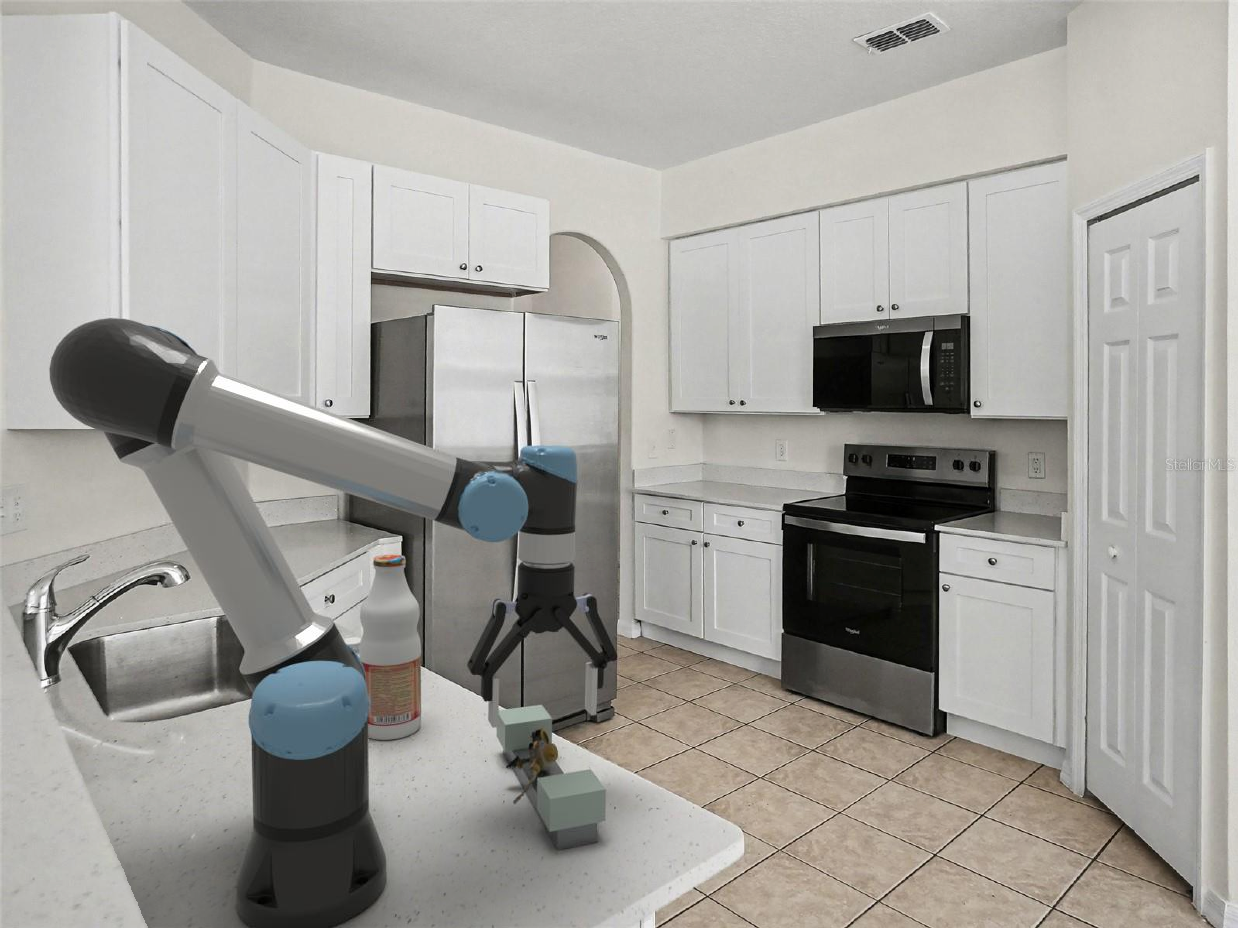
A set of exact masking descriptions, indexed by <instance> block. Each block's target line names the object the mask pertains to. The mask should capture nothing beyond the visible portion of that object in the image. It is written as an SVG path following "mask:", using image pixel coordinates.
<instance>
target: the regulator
mask: <svg viewBox="0 0 1238 928" xmlns="http://www.w3.org/2000/svg"><path fill="white" fill-rule="evenodd" d="M535 731H536V732H534V731H533V732H532V736H531V737H530V738H532V742H533V743H530V744H529V747H528V748H529V752H530V756H529V757H528V758H523V759H520V758H519V756H517V757H516V758H515V759H514V760H513V761H510V762H509V761H508V764H507V765H506V766H505V769H512V766H514V768H516V766H517V768H518V769H522V766H523V765H522V764H525V763H527V762H528V763H530V762H531V763H532V765H531V766H530V770H531V773H532V775H531V778H530V782H529V784H528V786H527V787H526V789H525V790H524V789H523V791H522V792H521V793H520V794H519V795H517V796H516V797H515V799H513V801H512V802H513V805H515V804H517V803H518V802H519V801H521V799H522V797H523V796H524V795H525V794H526V791H527V790H528V789H529V788H530V784H531V783H532V782H534V780H535V778H536V775H537V774H538V773H539V772H540V771H542V770H543V769H544V770H547V769H549V768H550V766H551V762H553V761H556V760H557V759H558V758H559V751H558V747H557V746H556V744H555V743H553V742H552V744H550V741H549V737H548V735H547V732H546V731H545V730H544V729H543V728H541V729H540V730H535Z"/></svg>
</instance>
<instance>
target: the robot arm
mask: <svg viewBox="0 0 1238 928" xmlns="http://www.w3.org/2000/svg"><path fill="white" fill-rule="evenodd" d="M49 381H50V385H51V389H52V392H53V394H54V396H55V399H56V400H57V401H58V402H59V404H60V405H61V407H62V408H63V409H64V410H65V411H66V413H68V414H69V415H70V416H72V417H73V418H74V419H75V420H77V421H78V422H80V423H81V424H83V425H85V426H86V427H87V426H88V427H89V428H92V429H94V430H97V431H100V432H101V431H102V432H103V433H104V435H105V438H106V439H107V441H108V442H109V444H110V446H111V448H112V449H113V452H114V453H115V454H116V456H117V458H118V459H119V461H120V463H123V464H126V465H128V466H133V467H135V468H139V469H140V470H142V471H143V472H144V474H145V476H146V478H147V480H148V481H149V483H150V485H151V487H152V488H153V490H154V492H155V493H156V495H157V497H158V499H159V502H160V503H161V504H162V506H163V508H164V509H165V511H166V513H167V515H168V517H169V518H170V520H171V522H172V524H173V526H174V527H175V529H176V531H177V533H178V535H179V536H180V537H181V540H182V542H183V543H184V545H185V546H186V548H187V551H188V552H189V554H190V555H191V557H192V560H193V561H194V563H195V565H196V566H197V568H198V570H199V571H200V573H201V576H202V577H203V579H204V580H205V582H206V584H207V586H208V587H209V589H210V591H211V593H212V594H213V597H214V598H215V599H216V602H217V603H218V605H219V607H220V609H221V611H222V612H223V614H224V616H225V617H226V620H227V621H228V623H229V625H230V626H231V628H232V629H233V632H234V633H235V635H236V637H237V639H238V640H239V642H240V644H241V646H242V648H243V649H244V654H243V656H242V660H241V663H240V666H239V671H240V674H241V675H242V677H243V679H244V681H245V683H246V684H247V686H248V688H249V689H250V691H251V693H252V695H251V699H250V700H251V702H250V707H249V713H248V727H249V730H250V731H249V732H250V735H251V738H250V739H251V777H252V778H251V779H252V784H251V785H252V813H253V814H252V819H253V820H252V823H253V825H252V827H253V829H252V830H253V831H252V834H251V837H250V840H249V843H248V846H247V849H246V852H245V855H244V859H243V862H242V865H241V867H240V872H239V874H238V877H237V881H236V886H235V887H236V891H235V892H236V911H237V914H238V915H239V917H240V919H241V920H242V921H243V922H244V923H245V924H246V925H247V926H249V927H251V926H252V927H251V928H253V927H255V928H331V927H334V926H336V925H339V924H341V923H344V922H345V921H347V920H350V919H352V918H353V917H355V916H357V915H358V914H360V913H361V912H364V910H365V909H367V908H368V907H369V906H371V905H372V904H373V903H374V902H375V901H376V899H378V897H379V896H380V895H381V894H382V892H383V890H384V888H385V885H386V882H387V855H386V853H385V849H384V845H383V844H382V842H381V838H380V836H379V834H378V831H377V829H376V828H377V827H376V826H375V825H376V824H375V823H374V820H373V817H372V814H371V813H370V798H369V797H370V787H369V785H370V781H369V778H370V776H369V774H370V773H369V772H370V770H369V766H370V765H369V764H370V763H369V737H368V714H369V709H370V701H369V695H368V692H367V682H366V678H365V676H366V674H365V670H364V667H363V664H362V662H361V660H360V658H359V657H358V655H357V654H356V653H355V652H354V651H353V649H352V648H351V647H349V646H348V645H347V644H346V643H345V642H344V640H343V639H344V638H343V636H342V635H341V632H340V630H339V629H338V627H337V626H336V624H335V622H334V620H333V619H332V618H331V617H329V616H325V615H321V614H317V613H315V612H314V611H313V608H312V607H311V604H310V602H309V601H308V599H307V597H306V596H305V593H304V592H303V590H302V588H301V586H300V584H299V583H298V581H297V579H296V577H295V575H294V573H293V572H292V568H291V567H290V566H289V563H288V562H287V560H286V559H285V556H284V554H283V553H282V551H281V549H280V547H279V545H278V544H277V543H278V542H277V541H276V540H275V537H274V536H273V534H272V533H271V531H270V528H269V527H268V525H267V523H266V521H265V519H264V517H263V514H261V512H260V510H259V508H258V506H257V504H256V503H255V500H254V498H253V496H252V495H251V493H250V491H249V489H248V487H247V485H246V484H245V482H244V480H243V478H242V477H241V474H240V473H239V470H238V469H237V467H236V465H235V463H234V462H233V459H232V458H231V457H233V458H235V459H239V460H242V461H244V462H245V461H246V462H248V463H251V464H254V465H257V466H261V467H264V468H268V469H270V470H273V471H276V472H280V473H283V474H286V475H289V476H292V477H296V478H300V479H303V480H305V481H308V482H311V483H315V484H318V485H321V486H324V487H327V488H330V489H333V490H336V491H339V492H343V493H346V494H349V495H352V496H356V497H359V498H362V499H366V500H368V501H372V502H375V503H378V504H380V505H384V506H387V507H390V508H394V509H397V510H400V511H402V512H406V513H409V514H412V515H414V516H415V515H416V516H419V517H423V518H426V519H427V520H431V521H435V522H437V523H438V524H441V525H445V526H448V527H451V528H454V529H458V530H459V531H464V532H466V533H467V534H469V535H470V536H471V537H472V538H474V539H477V540H480V541H483V542H487V543H501V542H504V541H507V540H509V539H511V538H513V537H514V536H516V535H517V533H518V550H517V551H518V554H517V558H518V559H519V560H520V561H521V562H519V564H518V565H517V593H516V595H517V596H516V599H515V600H514V601H506V600H505V601H504V600H502V599H500V598H495V599H494V600H493V603H492V608H491V609H492V610H491V616H490V618H489V620H488V622H487V624H486V626H485V627H484V630H483V632H482V634H481V636H480V637H479V639H478V642H477V643H476V645H475V648H474V650H473V652H472V654H471V656H470V658H469V659H468V662H467V664H466V665H467V666H466V667H467V668H468V670H469V672H470V674H471V675H473V676H479V677H481V679H480V695H481V698H482V700H483V701H484V702H485V703H486V702H487V703H488V704H487V705H488V706H487V707H488V708H487V709H488V710H487V714H488V715H487V720H488V722H489V724H490V726H491V728H496V729H497V727H498V715H499V710H500V709H499V707H500V706H499V705H500V703H499V702H500V698H499V697H500V678H499V676H498V675H497V672H498V671H499V670H500V668H501V667H502V665H504V664H505V662H506V661H507V660H508V658H509V657H510V656H511V654H512V653H513V652H514V651H515V650H516V648H517V647H518V646H519V644H520V643H521V642H522V641H523V640H524V639H526V638H527V637H528V636H529V634H530V633H531V632H532V633H535V634H537V635H538V634H544V633H546V632H550V633H559V631H560V630H561V629H565V631H566V632H567V633H568V634H569V635H570V637H572V639H573V640H574V641H575V643H577V645H578V646H579V647H580V648H581V649H582V650H583V652H584V653H585V654H586V655H587V656H588V657H589V659H590V660H591V661H592V662H585V683H584V684H585V685H584V686H585V687H584V690H585V691H584V709H585V710H586V711H587V713H588V714H589V715H590V716H596V715H597V706H598V705H597V704H598V703H597V701H598V689H599V690H600V689H603V687H604V676H605V675H604V674H605V669H606V668H607V666H608V663H609V662H615V661H617V660H618V658H619V657H618V653H617V651H616V649H615V647H614V645H613V641H611V638H610V636H609V633H608V631H607V630H606V628H605V625H604V623H603V621H602V618H601V617H600V615H599V612H598V603H597V602H598V601H597V598H596V597H595V596H593V595H592V594H591V593H589V592H585V593H583V595H582V596H577V597H576V596H575V569H576V568H575V567H576V566H575V565H574V564H573V563H572V562H573V561H574V560H575V559H576V513H577V512H576V511H577V490H578V484H579V481H578V470H577V469H578V468H577V467H578V464H577V463H578V462H577V455H576V452H575V451H574V449H572V448H570V447H568V446H561V445H526V446H522V448H521V449H520V451H519V457H518V460H512V461H510V460H509V461H486V460H485V461H483V460H482V461H480V460H479V461H478V460H467V459H464V458H460V457H458V456H456V455H453V454H450V453H447V452H444V451H441V450H439V449H435V448H433V447H429V446H427V445H424V444H421V443H418V442H415V441H413V440H410V439H407V438H404V437H401V436H399V435H396V434H394V433H390V432H387V431H385V430H381V429H379V428H375V427H374V426H370V425H368V424H365V423H362V422H359V421H357V420H353V419H351V418H347V417H345V416H342V415H339V414H336V413H333V412H331V411H328V410H324V409H321V408H319V407H316V406H314V405H311V404H308V403H305V402H303V401H299V400H296V399H294V398H291V397H288V396H285V395H283V394H280V393H277V392H275V391H274V392H273V391H271V390H270V389H269V390H268V389H265V388H262V387H260V386H258V385H257V386H256V385H254V384H251V383H249V382H246V381H244V380H243V381H242V380H240V379H237V378H234V377H231V376H229V375H226V374H223V373H221V372H220V371H219V370H218V368H217V366H216V363H215V362H214V360H213V359H210V358H208V357H205V356H203V355H199V354H198V353H197V351H196V350H195V349H194V348H192V347H191V346H190V345H189V343H188V342H186V340H184V339H182V338H181V337H180V336H178V334H175V333H172V332H171V331H169V330H166V329H163V328H160V327H158V326H152V325H147V324H144V323H141V322H139V321H135V320H132V319H125V318H115V317H109V318H108V317H106V318H101V319H100V318H98V319H96V320H92V321H89V322H86V323H83V324H81V325H79V326H77V327H76V328H73V329H72V330H71V331H70V332H68V333H67V334H66V335H65V336H64V337H63V338H62V339H61V341H60V342H59V343H58V344H57V346H56V348H55V349H54V352H53V354H52V356H51V359H50V363H49ZM577 607H579V610H580V611H582V612H583V613H584V615H585V617H586V619H587V621H588V623H589V625H590V628H591V631H592V632H593V634H594V636H595V638H596V641H597V643H598V644H599V647H600V648H601V651H600V652H599V651H598V650H597V649H596V648H595V646H593V645H592V644H591V642H590V641H589V639H587V637H586V636H585V635H584V634H583V633H582V631H581V630H580V629H579V628H578V626H577V625H576V624H575V623H574V622H573V621H572V619H571V616H572V615H573V613H575V611H576V609H577ZM512 612H515V614H516V615H517V616H518V618H517V619H516V621H515V622H514V623H513V624H512V626H511V629H510V630H509V631H508V632H507V634H506V635H505V636H504V638H503V639H501V641H500V642H499V644H498V645H497V646H496V647H495V648H494V649H493V651H492V648H493V646H494V643H495V642H496V640H497V638H498V636H499V634H500V632H501V630H502V628H503V626H504V623H505V620H506V619H508V618H509V617H510V615H511V613H512ZM491 651H492V652H491ZM490 653H491V654H490ZM489 654H490V655H489Z"/></svg>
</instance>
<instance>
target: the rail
mask: <svg viewBox="0 0 1238 928" xmlns="http://www.w3.org/2000/svg"><path fill="white" fill-rule="evenodd" d="M502 752H503V755H504V756H505V757H506V759H507V761H508V763H509V762H510V761H513V760H514V759H515V758H516V757H517V756H519V758H520V759H523V758H528V757H529V756H530V752H529V748H526V749H520V750H513V751H507V752H505V751H504V749H503V748H502ZM522 765H523V766H522V769H518V768H517V766H516V768H514V766H512V767H511V769H512V771H513V772H514V774H515V775H516V778H517V779H518V781H519V783H520V784H521V786H522V788H523V791H524V790H525V789H526V787H527V786H528V784H529V782H530V778H531V775H532V773H531V770H530V766H531V765H532V763H531V762H530V763H528V762H527V763H525V764H522ZM559 774H565V773H564V771H563V769H562V768H561V767H560V765H559V764H558V762H557V761H556V760H555V761H553V762H551V766H550V768H549V769H547V770H544V769H543V770H542V771H540V772H539V773H538V774H537V775H536V778H535V780H534V782H532V783H531V784H530V788H529V789H528V790H527V791H526V792H525V794H526V795H527V798H528V799H529V801H530V804H532V807H533V808H534V810H535V812H536V814H537V815H538V817H539V819H540V821H541V823H542V824H543V826H544V828H545V830H546V833H548V836H549V838H550V839H551V841H552V843H553V844H554V846H555V848H556V850H557V851H561V850H567V849H570V848H575V847H580V846H586V845H591V844H596V843H598V826H599V825H598V823H599V822H598V823H592V824H587V825H582V826H577V827H572V828H567V829H561V830H556V831H551V832H550V831H549V830H548V828H547V826H546V824H545V822H544V821H543V819H542V817H541V815H540V813H539V812H538V810H537V778H541V777H547V776H553V775H559Z"/></svg>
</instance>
